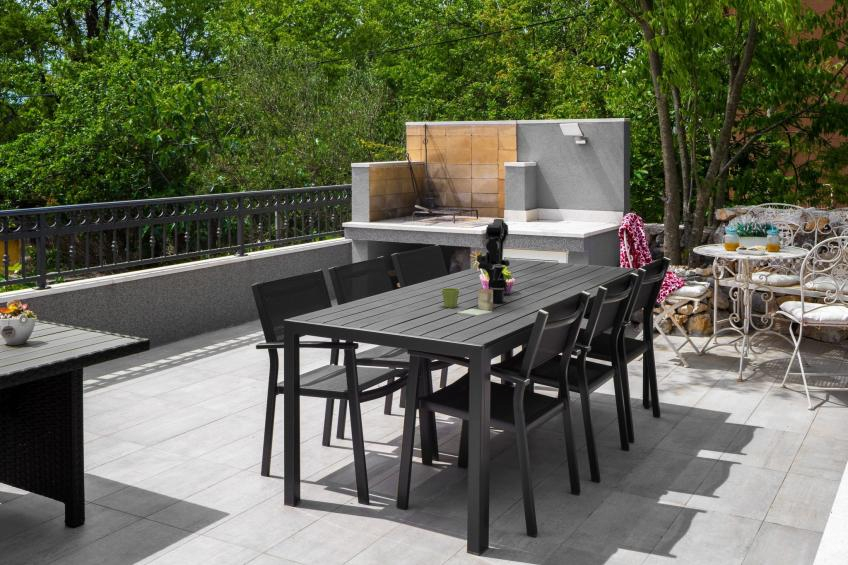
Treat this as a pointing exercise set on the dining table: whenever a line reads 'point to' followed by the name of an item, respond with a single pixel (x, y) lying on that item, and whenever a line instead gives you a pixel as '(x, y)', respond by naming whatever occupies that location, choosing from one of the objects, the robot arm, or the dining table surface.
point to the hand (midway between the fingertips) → (493, 281)
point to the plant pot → (450, 297)
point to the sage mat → (474, 312)
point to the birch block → (485, 299)
